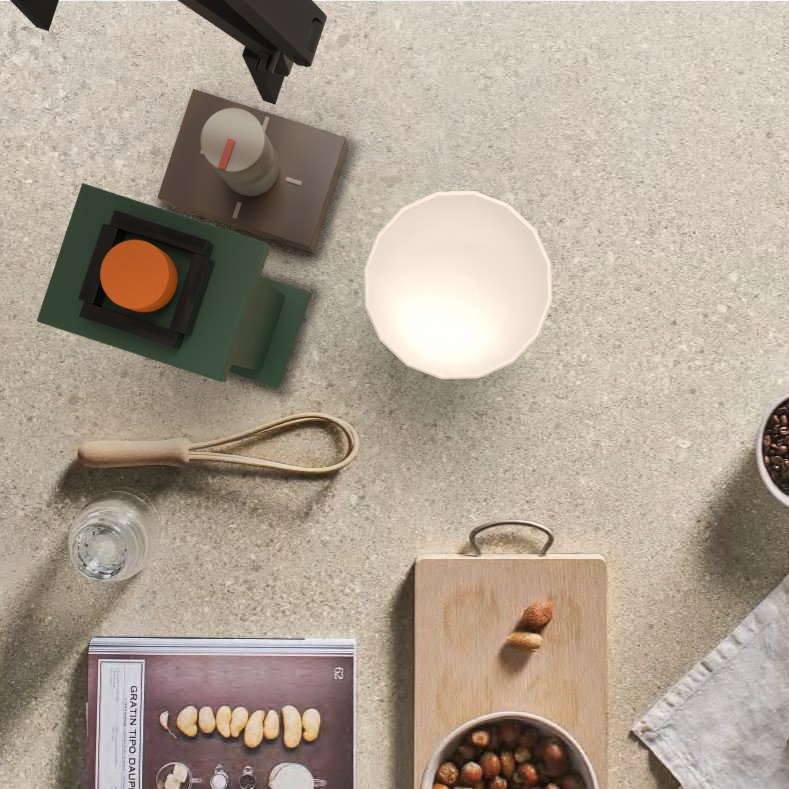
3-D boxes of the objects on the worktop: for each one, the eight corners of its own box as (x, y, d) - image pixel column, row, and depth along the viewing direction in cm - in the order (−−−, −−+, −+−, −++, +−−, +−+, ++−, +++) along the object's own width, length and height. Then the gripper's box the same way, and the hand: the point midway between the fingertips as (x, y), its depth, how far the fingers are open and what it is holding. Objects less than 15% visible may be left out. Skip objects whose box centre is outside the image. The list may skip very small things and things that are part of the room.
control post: (154, 347, 79) (25, 318, 53) (185, 252, 79) (72, 176, 53) (280, 389, 79) (215, 381, 52) (312, 293, 79) (262, 237, 52)
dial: (233, 131, 76) (211, 97, 68) (287, 149, 76) (272, 118, 68) (214, 185, 76) (190, 158, 68) (268, 204, 76) (251, 179, 68)
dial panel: (166, 205, 79) (156, 197, 76) (201, 100, 79) (192, 87, 76) (313, 253, 79) (309, 247, 76) (348, 147, 79) (345, 137, 76)
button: (102, 300, 53) (90, 296, 51) (123, 237, 53) (112, 230, 51) (165, 321, 53) (156, 317, 51) (186, 257, 53) (177, 251, 51)
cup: (511, 397, 78) (536, 395, 63) (359, 371, 79) (347, 363, 63) (536, 245, 78) (568, 205, 63) (385, 220, 79) (379, 174, 63)
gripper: (-409, -231, 29) (-65, 38, 50) (312, 2, 29) (350, 173, 50) (-337, -446, 29) (-24, -86, 50) (384, -217, 29) (392, 48, 50)
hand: (163, 43), depth 50 cm, fingers open, 13 cm apart
